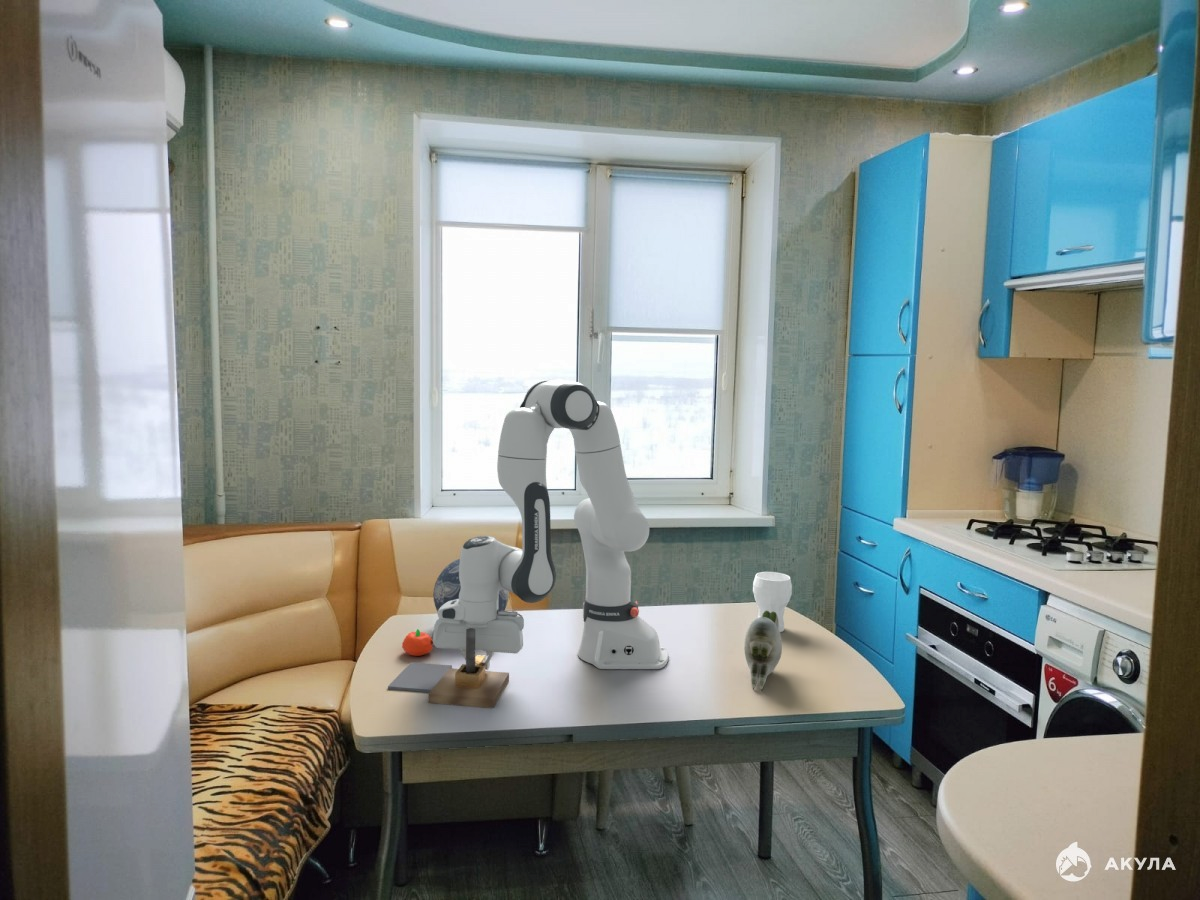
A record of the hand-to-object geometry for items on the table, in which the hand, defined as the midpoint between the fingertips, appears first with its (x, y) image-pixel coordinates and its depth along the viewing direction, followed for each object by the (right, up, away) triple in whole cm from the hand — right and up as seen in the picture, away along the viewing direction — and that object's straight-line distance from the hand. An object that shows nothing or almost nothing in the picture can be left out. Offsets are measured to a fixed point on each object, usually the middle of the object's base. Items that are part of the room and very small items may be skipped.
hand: (478, 668), depth 174 cm
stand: (-1, -4, -6) cm, 7 cm away
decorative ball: (-7, +1, +33) cm, 34 cm away
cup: (+75, -1, +42) cm, 86 cm away
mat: (-13, -3, +1) cm, 13 cm away
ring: (0, -1, -3) cm, 3 cm away
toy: (+66, -4, +9) cm, 67 cm away
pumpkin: (-17, -1, +15) cm, 23 cm away
